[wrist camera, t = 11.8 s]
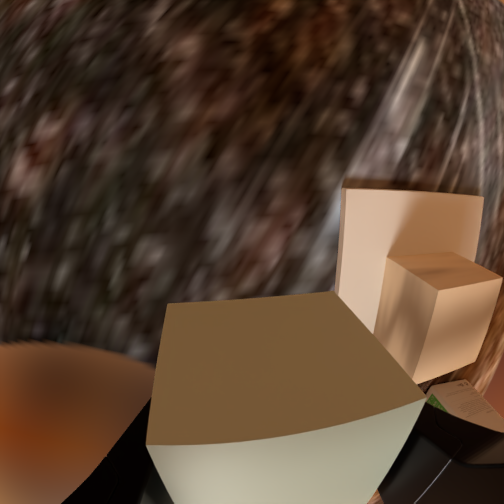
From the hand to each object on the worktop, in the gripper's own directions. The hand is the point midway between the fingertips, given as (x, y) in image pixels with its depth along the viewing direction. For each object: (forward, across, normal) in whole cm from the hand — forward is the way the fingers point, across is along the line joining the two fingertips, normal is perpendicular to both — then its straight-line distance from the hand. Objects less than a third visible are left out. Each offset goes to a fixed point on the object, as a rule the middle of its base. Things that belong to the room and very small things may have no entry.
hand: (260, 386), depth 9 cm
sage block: (+1, 0, 0) cm, 1 cm away
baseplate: (+8, -12, +2) cm, 15 cm away
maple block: (+8, -12, +2) cm, 15 cm away
